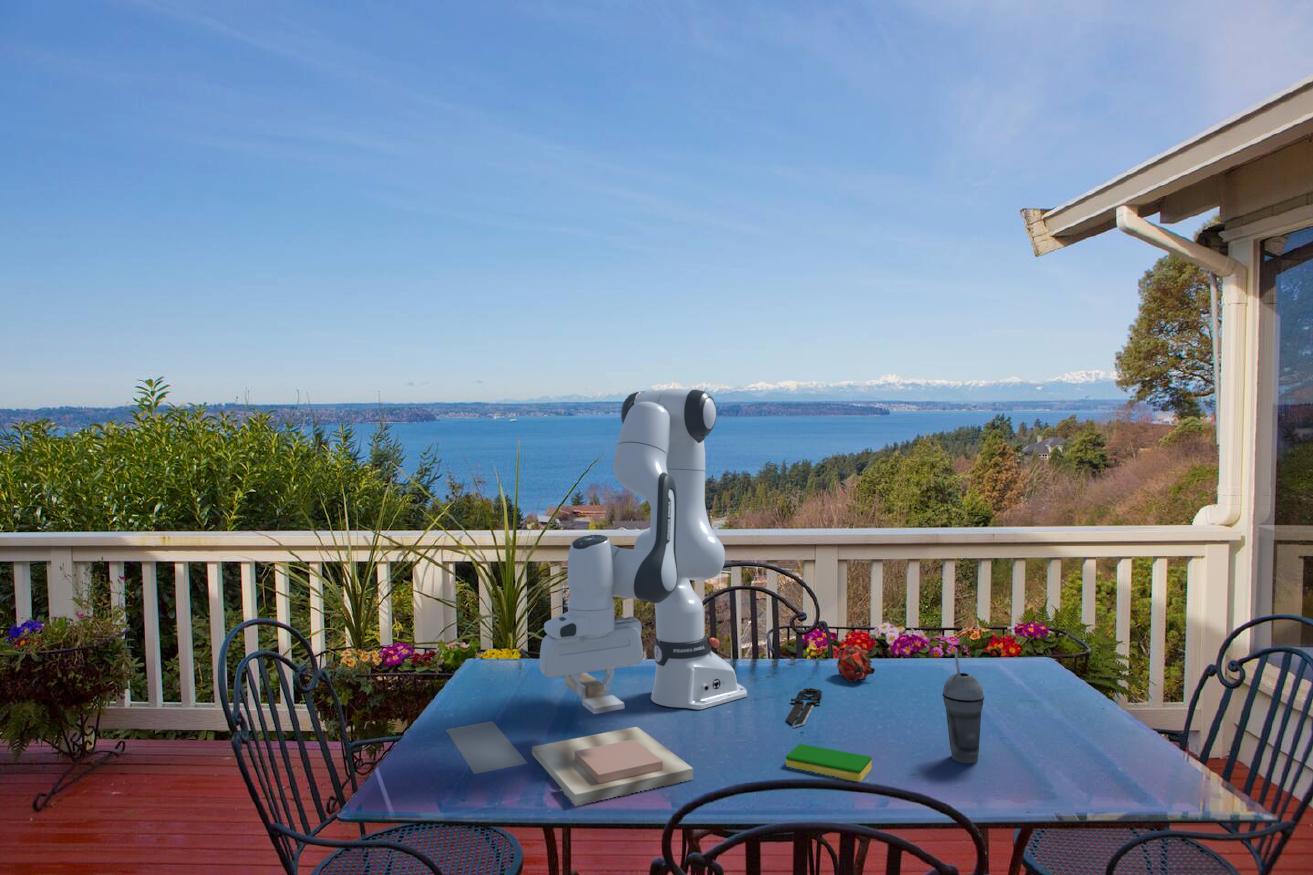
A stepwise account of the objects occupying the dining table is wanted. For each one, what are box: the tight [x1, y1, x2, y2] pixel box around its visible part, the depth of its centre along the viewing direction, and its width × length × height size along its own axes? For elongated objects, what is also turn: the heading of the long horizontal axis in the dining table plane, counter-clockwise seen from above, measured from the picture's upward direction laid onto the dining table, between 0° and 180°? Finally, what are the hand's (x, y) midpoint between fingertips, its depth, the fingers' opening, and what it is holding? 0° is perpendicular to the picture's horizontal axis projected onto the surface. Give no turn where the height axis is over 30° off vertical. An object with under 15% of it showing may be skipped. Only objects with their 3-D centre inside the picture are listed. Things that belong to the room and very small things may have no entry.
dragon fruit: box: [836, 645, 876, 683], centre depth 200 cm, size 8×8×12 cm
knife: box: [785, 687, 823, 729], centre depth 179 cm, size 25×6×1 cm, turn 155°
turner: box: [564, 672, 625, 715], centre depth 158 cm, size 6×20×3 cm, turn 26°
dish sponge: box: [785, 743, 873, 782], centre depth 147 cm, size 7×14×2 cm, turn 59°
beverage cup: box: [942, 648, 985, 764], centre depth 150 cm, size 7×7×20 cm
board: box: [531, 726, 694, 805], centre depth 149 cm, size 22×24×2 cm
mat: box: [445, 720, 529, 775], centre depth 160 cm, size 10×26×1 cm, turn 26°
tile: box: [574, 739, 663, 784], centre depth 146 cm, size 12×2×12 cm
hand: (593, 693), depth 156 cm, fingers closed on turner, 3 cm apart
